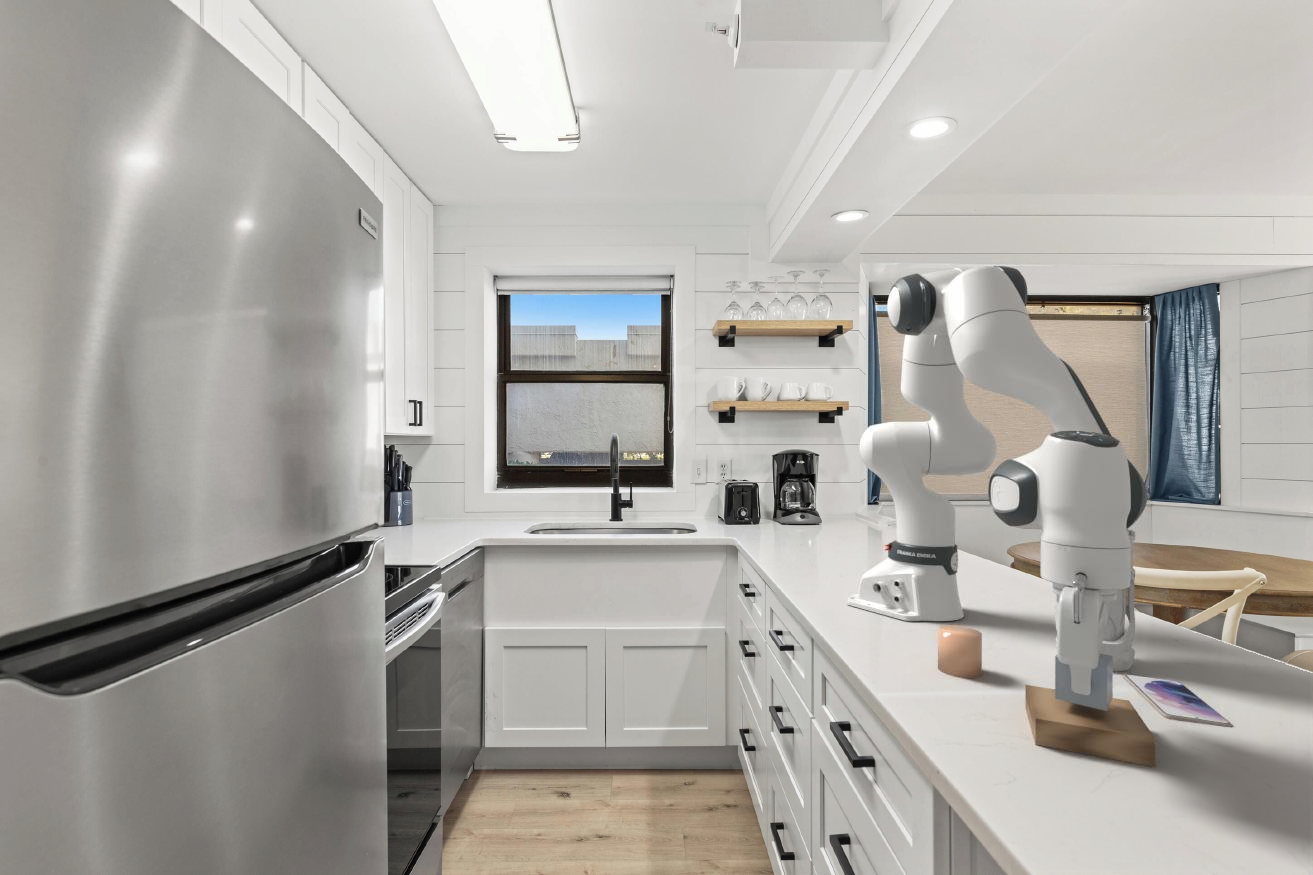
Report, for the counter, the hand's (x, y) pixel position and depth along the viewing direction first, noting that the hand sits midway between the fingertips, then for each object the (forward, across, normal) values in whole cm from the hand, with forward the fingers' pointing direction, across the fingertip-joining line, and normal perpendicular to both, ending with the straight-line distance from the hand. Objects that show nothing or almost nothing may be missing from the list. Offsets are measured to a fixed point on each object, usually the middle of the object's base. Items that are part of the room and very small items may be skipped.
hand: (1083, 683), depth 74 cm
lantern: (+6, +33, +1) cm, 34 cm away
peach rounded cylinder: (+6, +13, +16) cm, 22 cm away
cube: (+2, 0, 0) cm, 2 cm away
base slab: (+6, 0, 0) cm, 6 cm away
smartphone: (+7, +20, -9) cm, 23 cm away
